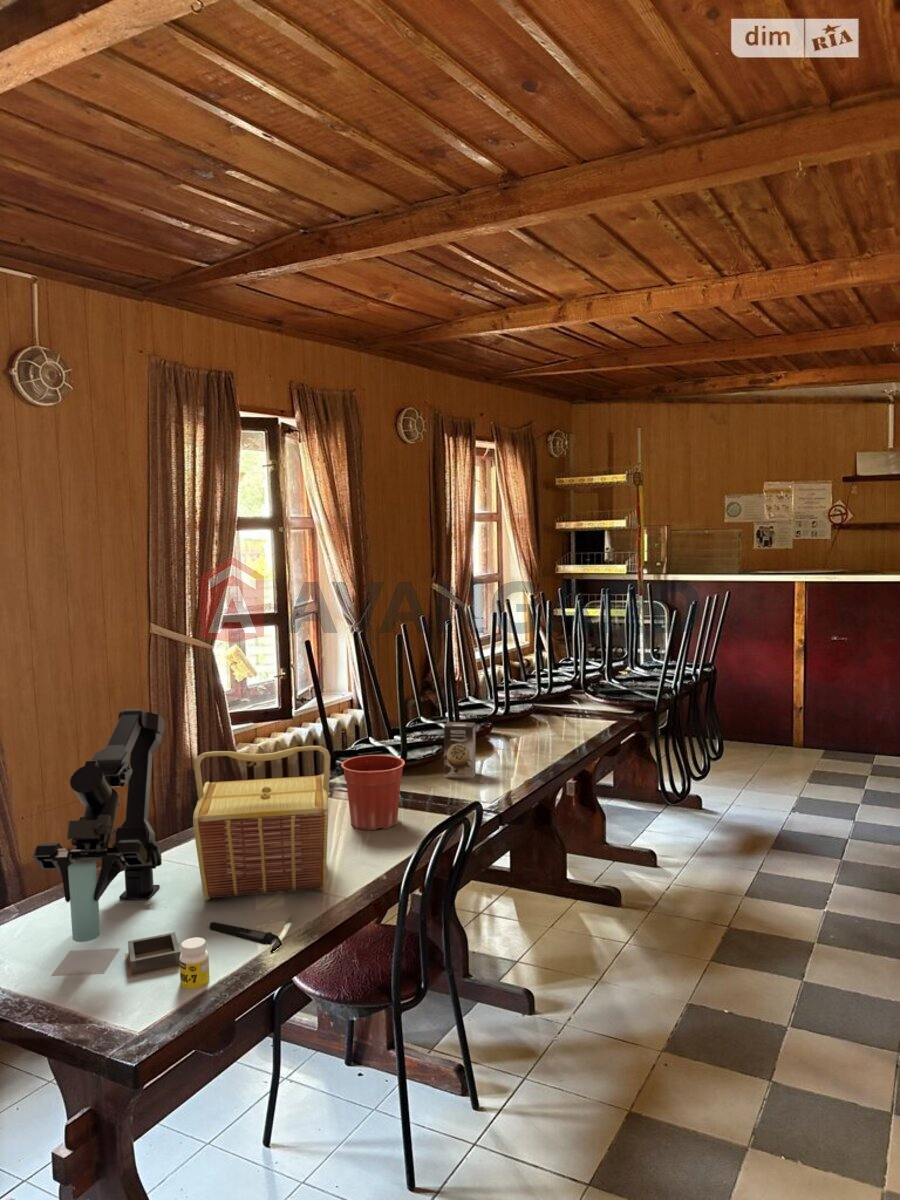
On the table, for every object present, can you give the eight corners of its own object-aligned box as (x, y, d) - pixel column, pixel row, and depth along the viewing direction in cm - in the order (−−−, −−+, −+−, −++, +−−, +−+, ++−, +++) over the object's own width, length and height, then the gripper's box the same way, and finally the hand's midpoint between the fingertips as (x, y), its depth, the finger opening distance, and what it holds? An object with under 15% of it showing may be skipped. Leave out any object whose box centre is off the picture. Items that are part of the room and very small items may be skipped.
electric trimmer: (218, 932, 173) (217, 916, 173) (283, 946, 166) (282, 930, 166) (205, 941, 170) (204, 925, 169) (271, 955, 163) (270, 939, 163)
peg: (86, 927, 161) (82, 858, 160) (106, 932, 159) (101, 862, 158) (66, 939, 157) (62, 868, 155) (86, 943, 155) (81, 872, 153)
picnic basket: (191, 913, 181) (184, 769, 178) (206, 864, 206) (200, 738, 203) (336, 900, 185) (331, 760, 182) (332, 854, 211) (328, 731, 208)
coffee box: (444, 777, 271) (442, 726, 270) (447, 771, 277) (446, 721, 276) (473, 778, 269) (472, 726, 268) (476, 772, 276) (475, 721, 274)
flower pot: (397, 809, 242) (395, 751, 241) (413, 829, 227) (412, 767, 225) (337, 816, 237) (335, 758, 236) (350, 837, 222) (348, 774, 220)
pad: (70, 958, 163) (70, 950, 163) (120, 956, 163) (120, 948, 163) (51, 983, 154) (51, 975, 154) (104, 981, 154) (103, 973, 154)
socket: (125, 961, 161) (124, 940, 161) (179, 950, 165) (178, 930, 164) (128, 986, 152) (127, 964, 152) (185, 974, 156) (183, 952, 156)
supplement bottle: (174, 994, 150) (172, 946, 149) (192, 980, 154) (190, 934, 153) (198, 999, 148) (196, 951, 147) (215, 985, 152) (213, 938, 151)
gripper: (33, 800, 159) (10, 885, 149) (139, 796, 160) (123, 880, 150) (52, 827, 168) (32, 909, 158) (153, 823, 169) (139, 905, 159)
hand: (81, 900), depth 156 cm, fingers closed on peg, 5 cm apart
